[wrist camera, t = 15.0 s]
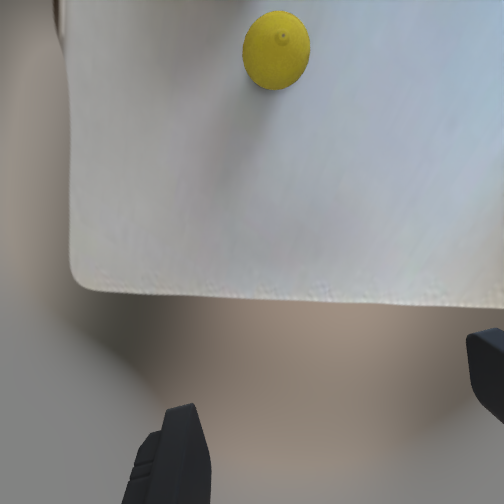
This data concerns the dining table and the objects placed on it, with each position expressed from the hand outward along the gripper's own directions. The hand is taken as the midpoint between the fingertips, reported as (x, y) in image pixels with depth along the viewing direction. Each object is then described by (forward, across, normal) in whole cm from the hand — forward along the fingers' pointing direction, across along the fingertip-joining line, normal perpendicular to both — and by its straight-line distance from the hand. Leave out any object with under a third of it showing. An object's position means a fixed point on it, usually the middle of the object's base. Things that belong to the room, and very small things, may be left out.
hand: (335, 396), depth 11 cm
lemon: (+28, -5, -15) cm, 33 cm away
